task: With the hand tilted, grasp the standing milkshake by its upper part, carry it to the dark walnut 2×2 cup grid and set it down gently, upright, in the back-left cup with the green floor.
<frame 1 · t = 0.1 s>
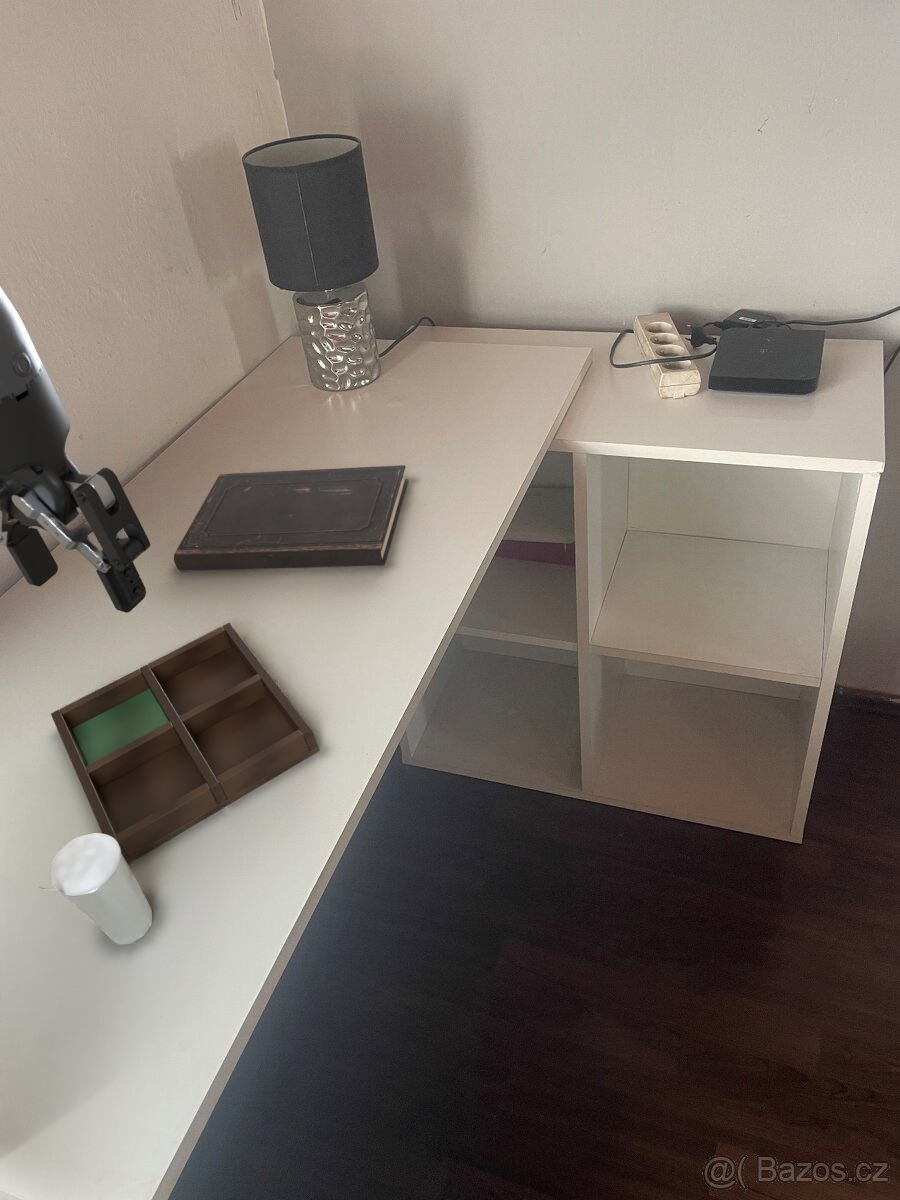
hand: (88, 591, 60), 20 cm above the table, tool pointing down, fingers open, 8 cm apart
hardcover book: (298, 527, 98), on the table
milkshake: (128, 930, 63), on the table
grid: (187, 742, 75), on the table
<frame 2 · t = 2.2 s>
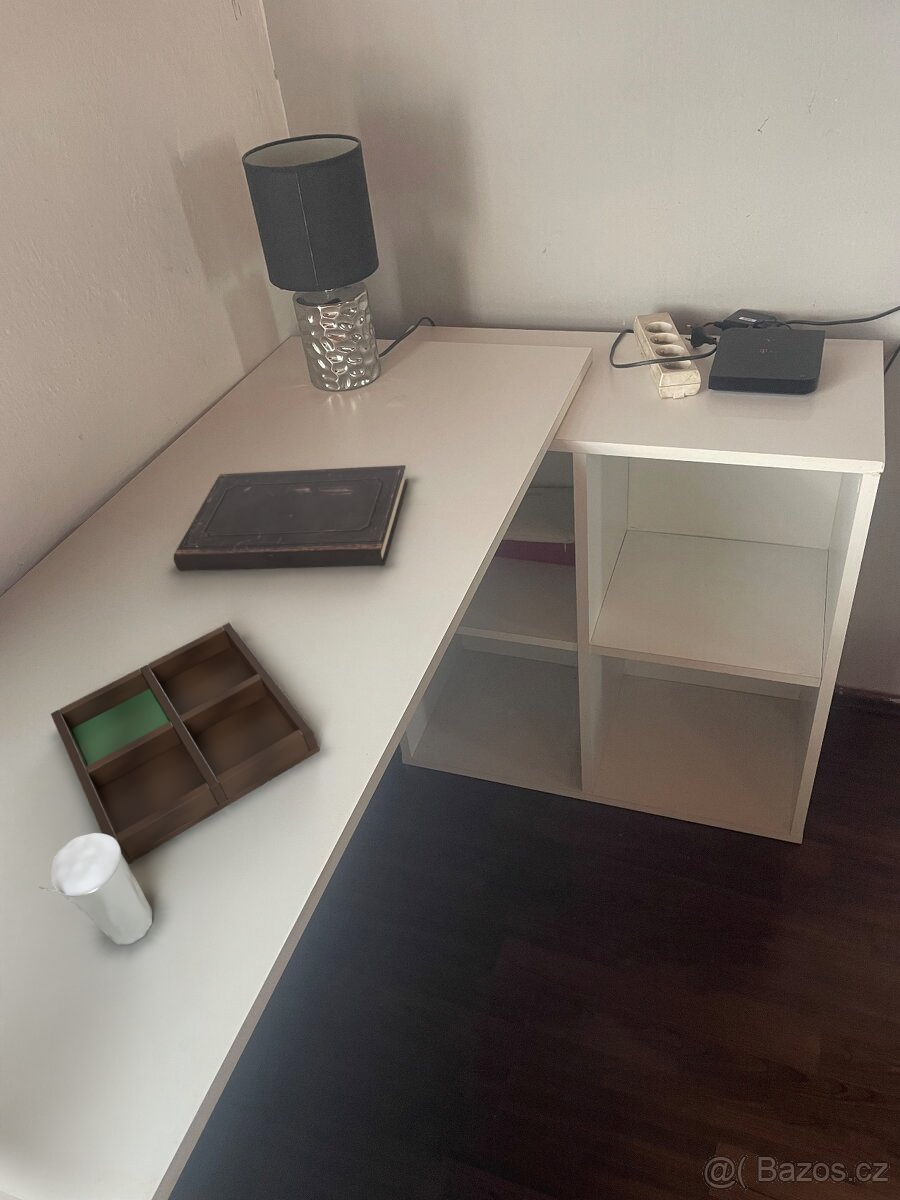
nothing on the table moved.
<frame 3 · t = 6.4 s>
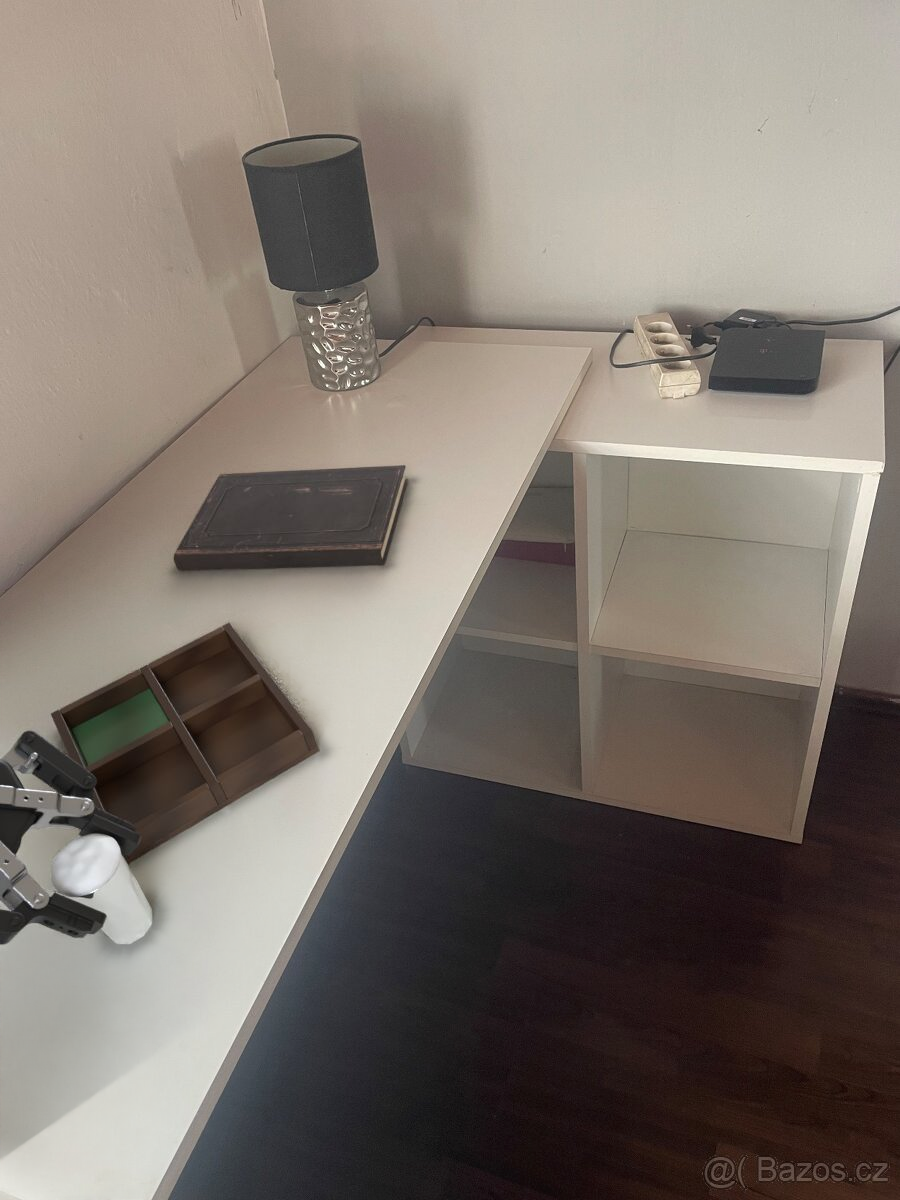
hand: (117, 883, 58), 6 cm above the table, tool tilted 45°, fingers closed on milkshake, 5 cm apart
milkshake: (128, 930, 63), on the table, touching gripper
everything else where it was.
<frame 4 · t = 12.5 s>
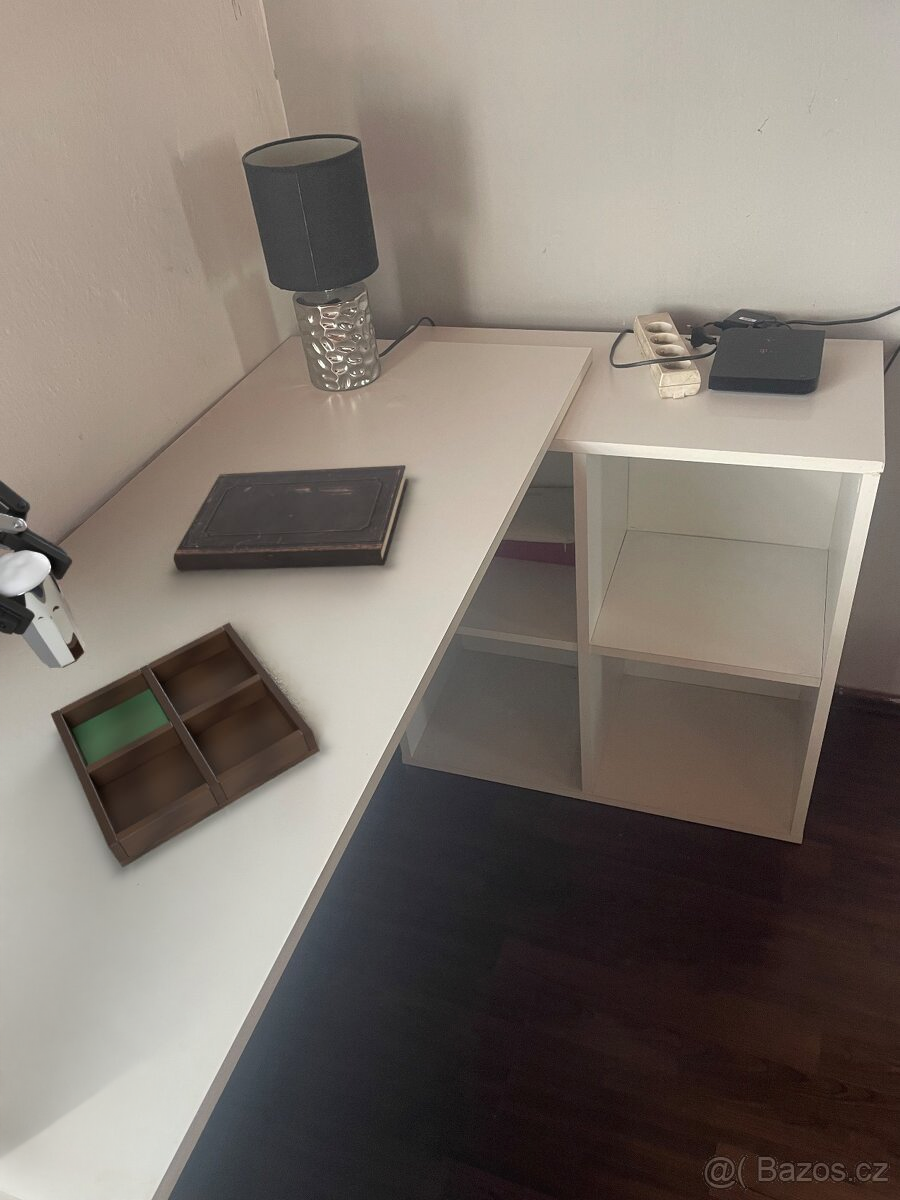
hand: (47, 596, 62), 19 cm above the table, tool tilted 45°, fingers closed on milkshake, 5 cm apart
milkshake: (62, 659, 66), point 13 cm above the table, touching gripper
everything else where it was.
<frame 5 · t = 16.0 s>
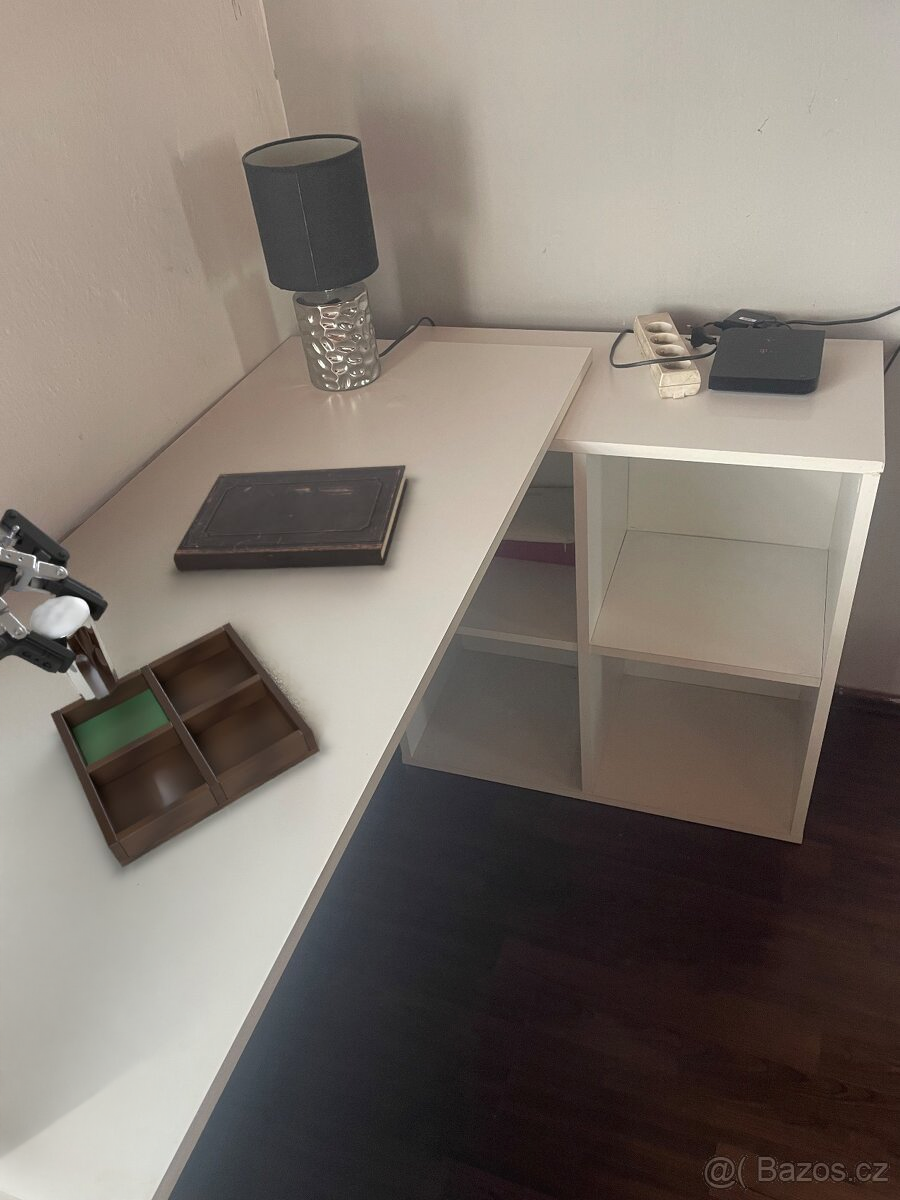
hand: (86, 637, 68), 12 cm above the table, tool tilted 45°, fingers closed on milkshake, 5 cm apart
milkshake: (97, 692, 73), point 6 cm above the table, touching gripper
everything else where it was.
when the fingers open (7 cm above the table, at t = 18.7 s): milkshake stays where it is, resting on grid.
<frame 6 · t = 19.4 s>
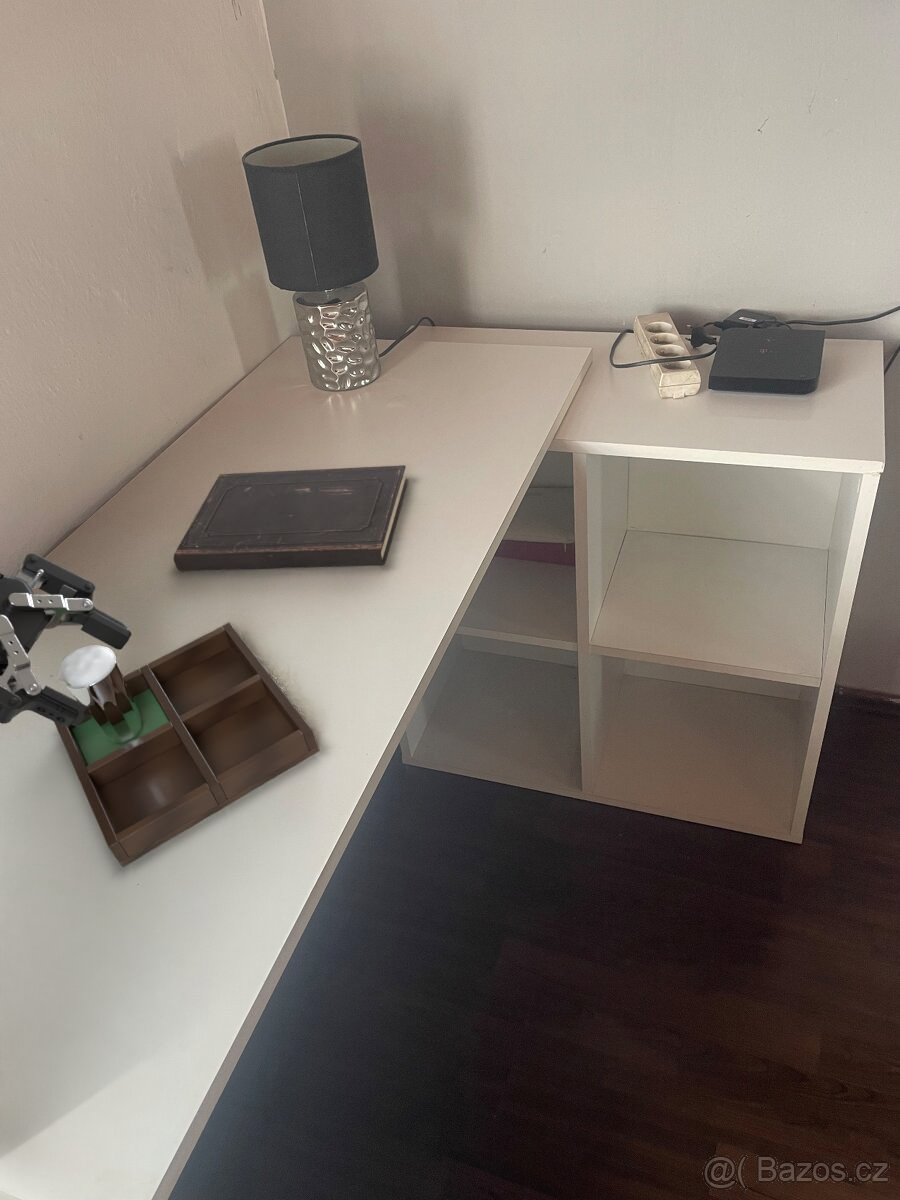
hand: (106, 677, 71), 8 cm above the table, tool tilted 45°, fingers open, 8 cm apart
milkshake: (122, 734, 76), point 1 cm above the table, touching grid
everything else where it was.
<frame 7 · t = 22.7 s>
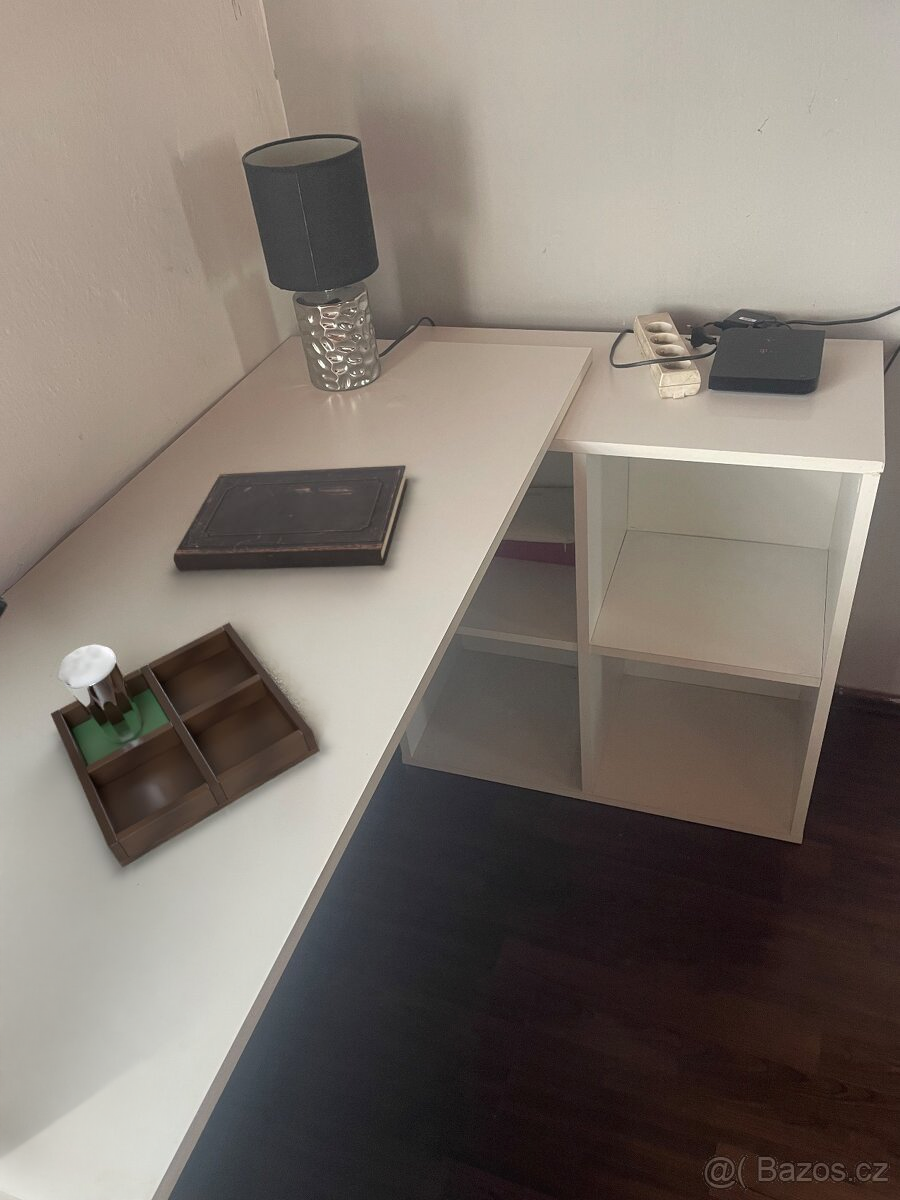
nothing on the table moved.
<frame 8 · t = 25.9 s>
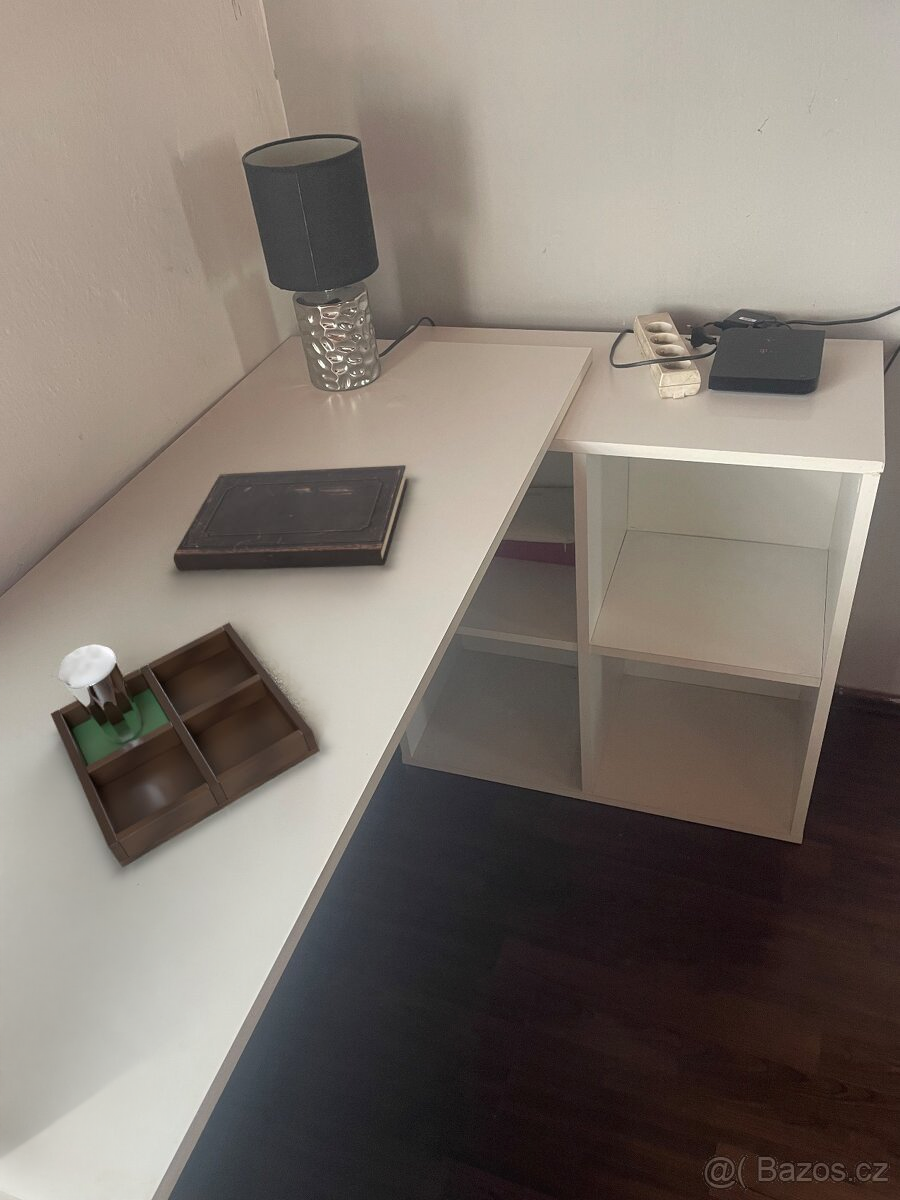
nothing on the table moved.
at the end: milkshake 0.2 cm from the target spot in the grid, point 0.6 cm above the grid's base; milkshake tilted 0°; the gripper is holding nothing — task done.
